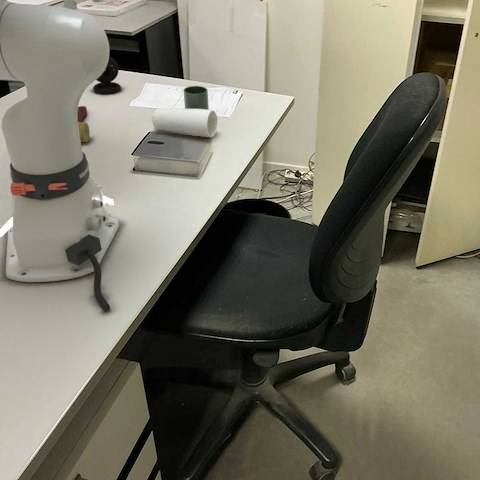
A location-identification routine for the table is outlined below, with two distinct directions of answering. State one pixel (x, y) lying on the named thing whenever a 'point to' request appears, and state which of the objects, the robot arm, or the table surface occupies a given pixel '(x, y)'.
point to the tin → (196, 97)
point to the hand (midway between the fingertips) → (85, 6)
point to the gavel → (83, 124)
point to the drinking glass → (186, 121)
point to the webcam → (108, 79)
